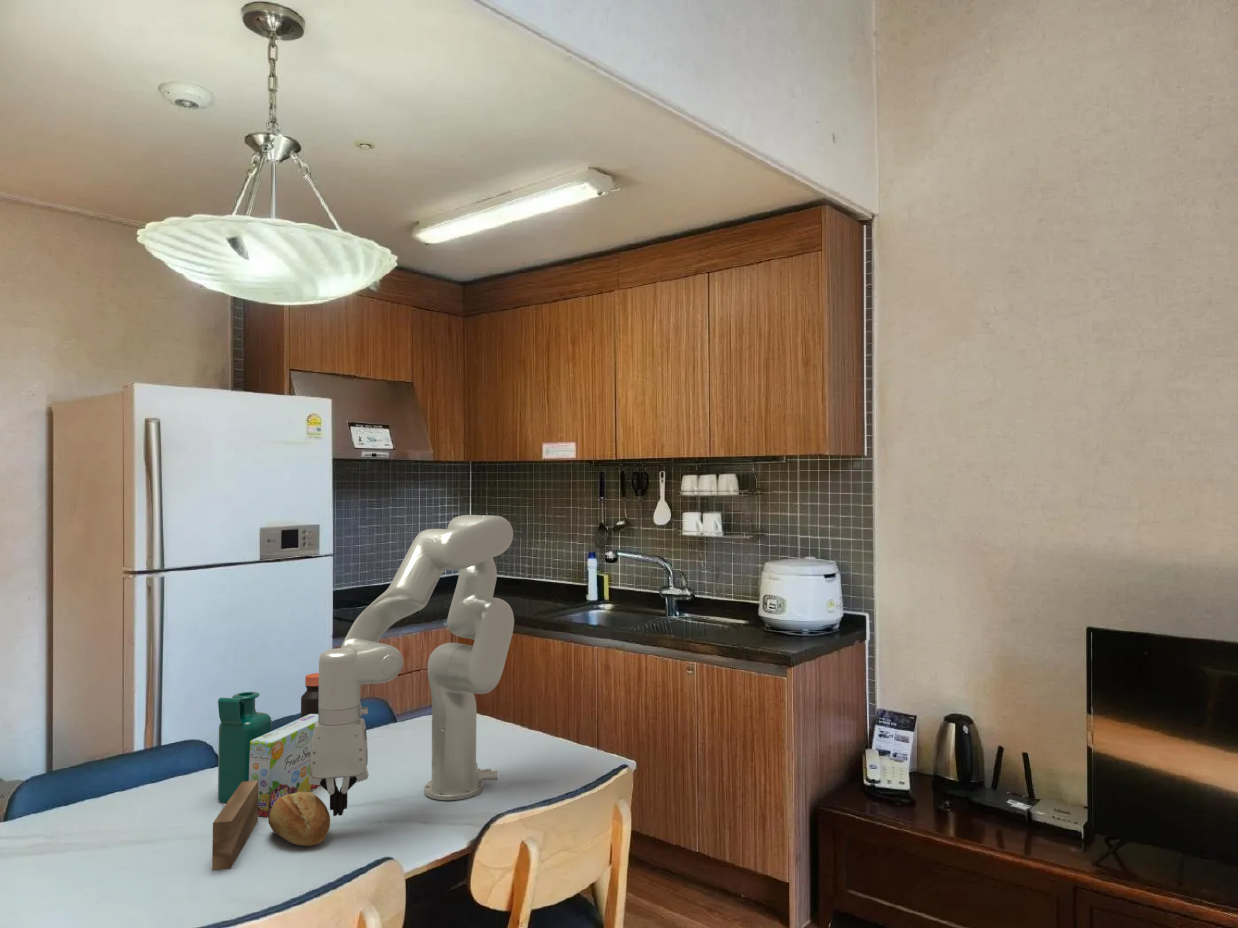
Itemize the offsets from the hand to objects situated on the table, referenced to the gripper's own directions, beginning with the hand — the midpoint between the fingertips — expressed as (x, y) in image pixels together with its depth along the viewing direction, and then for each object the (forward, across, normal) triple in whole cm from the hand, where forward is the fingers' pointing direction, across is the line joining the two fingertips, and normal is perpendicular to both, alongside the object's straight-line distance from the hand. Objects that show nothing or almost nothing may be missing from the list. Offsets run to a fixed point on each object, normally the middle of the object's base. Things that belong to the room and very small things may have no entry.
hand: (338, 812), depth 149 cm
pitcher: (+4, +22, -24) cm, 33 cm away
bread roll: (+4, +7, 0) cm, 8 cm away
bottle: (+4, +12, -48) cm, 49 cm away
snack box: (+4, +12, -22) cm, 26 cm away
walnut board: (+4, +18, 0) cm, 18 cm away
